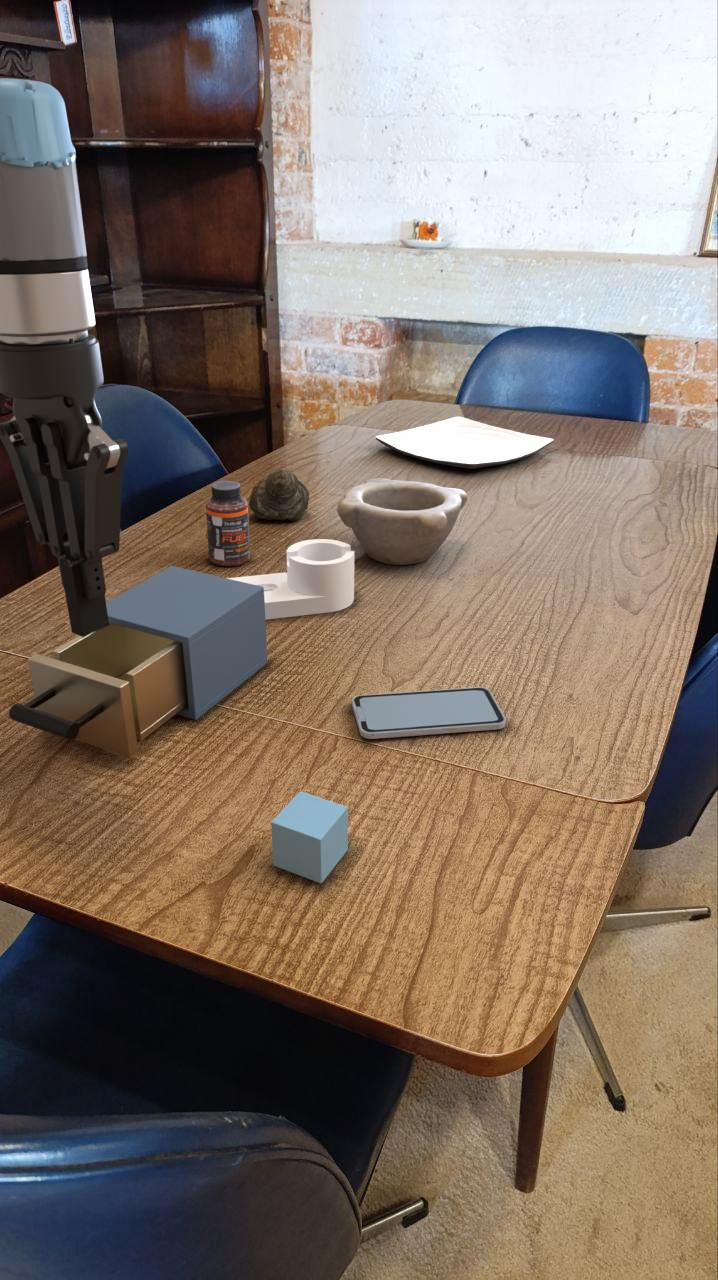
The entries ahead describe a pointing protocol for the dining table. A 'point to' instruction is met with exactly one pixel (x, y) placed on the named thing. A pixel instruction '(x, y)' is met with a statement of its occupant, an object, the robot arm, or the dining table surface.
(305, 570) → the bracket
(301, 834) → the cube
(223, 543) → the supplement bottle
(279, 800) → the dining table surface
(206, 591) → the compartment
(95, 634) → the drawer
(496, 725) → the smartphone
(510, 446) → the plate
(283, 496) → the seashell
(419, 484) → the mortar
